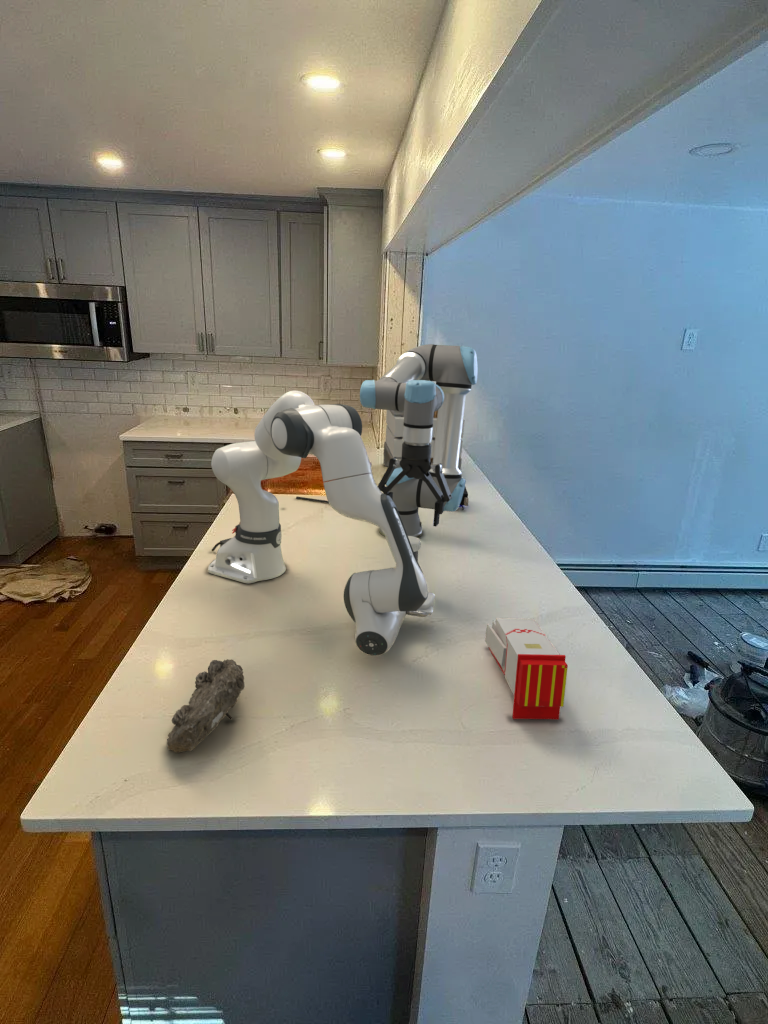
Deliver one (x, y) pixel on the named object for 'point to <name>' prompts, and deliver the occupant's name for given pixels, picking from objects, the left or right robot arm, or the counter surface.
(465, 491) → the figurine character
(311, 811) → the counter surface
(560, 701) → the toy
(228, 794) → the counter surface
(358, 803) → the counter surface
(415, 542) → the lid
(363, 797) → the counter surface
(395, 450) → the grey slatted crate
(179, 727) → the fossil
